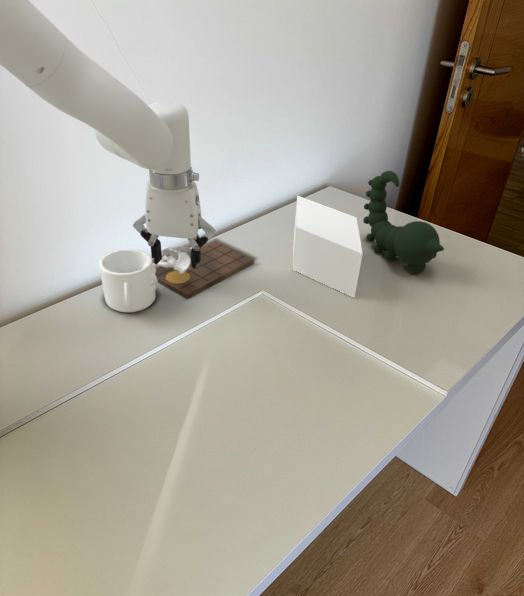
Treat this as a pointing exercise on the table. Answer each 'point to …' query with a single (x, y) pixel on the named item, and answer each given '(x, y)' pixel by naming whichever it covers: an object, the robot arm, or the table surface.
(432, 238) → the toy figurine
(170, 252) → the crumpled tissue wad
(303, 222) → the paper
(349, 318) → the table surface
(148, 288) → the mug
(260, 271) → the table surface
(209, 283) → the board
